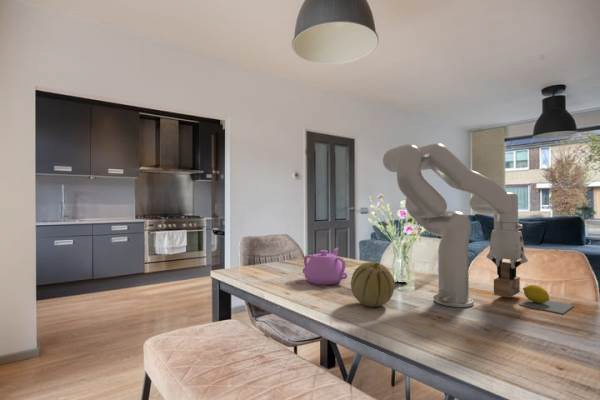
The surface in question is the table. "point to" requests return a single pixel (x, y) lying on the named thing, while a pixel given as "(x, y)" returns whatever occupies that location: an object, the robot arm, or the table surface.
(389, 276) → the cantaloupe
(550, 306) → the slate mat
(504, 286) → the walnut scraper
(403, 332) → the table surface
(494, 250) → the robot arm
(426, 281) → the table surface
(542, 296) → the lemon
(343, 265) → the teapot
